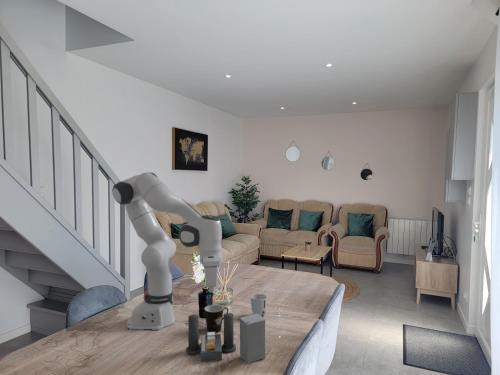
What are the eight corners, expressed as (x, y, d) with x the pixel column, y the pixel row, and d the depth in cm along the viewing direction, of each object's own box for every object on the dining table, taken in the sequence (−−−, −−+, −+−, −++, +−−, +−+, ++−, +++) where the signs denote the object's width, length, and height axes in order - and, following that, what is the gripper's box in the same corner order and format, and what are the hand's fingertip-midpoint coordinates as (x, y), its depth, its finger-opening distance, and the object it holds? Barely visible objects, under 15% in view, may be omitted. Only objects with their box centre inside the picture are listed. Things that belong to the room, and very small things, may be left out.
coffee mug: (206, 335, 148) (205, 313, 148) (203, 327, 157) (203, 305, 156) (231, 332, 151) (231, 310, 151) (227, 324, 160) (227, 303, 159)
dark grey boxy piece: (200, 361, 127) (200, 351, 127) (201, 343, 141) (201, 334, 141) (222, 360, 128) (222, 350, 128) (220, 342, 142) (220, 333, 142)
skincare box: (257, 350, 135) (257, 312, 135) (266, 359, 129) (266, 318, 128) (238, 356, 131) (238, 316, 131) (247, 365, 125) (247, 323, 124)
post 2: (221, 353, 133) (221, 318, 133) (220, 345, 139) (220, 312, 139) (236, 352, 134) (236, 317, 134) (235, 344, 140) (235, 311, 139)
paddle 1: (207, 338, 137) (207, 335, 137) (207, 336, 140) (207, 332, 139) (214, 338, 138) (214, 334, 137) (214, 335, 140) (214, 331, 140)
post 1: (185, 355, 131) (185, 320, 131) (186, 347, 137) (186, 314, 137) (201, 354, 132) (200, 319, 132) (201, 346, 138) (201, 313, 138)
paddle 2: (207, 349, 129) (206, 345, 129) (207, 346, 132) (206, 342, 132) (215, 347, 130) (214, 343, 129) (214, 344, 132) (213, 340, 132)
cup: (265, 320, 164) (265, 300, 163) (249, 319, 165) (249, 298, 165) (268, 313, 172) (268, 294, 171) (252, 312, 173) (252, 293, 173)
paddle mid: (207, 343, 133) (207, 339, 133) (207, 340, 136) (207, 336, 136) (215, 343, 134) (215, 339, 134) (214, 340, 136) (214, 336, 136)
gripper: (203, 251, 143) (203, 283, 144) (202, 263, 123) (202, 300, 123) (218, 250, 144) (218, 282, 145) (219, 262, 124) (220, 299, 124)
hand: (211, 291), depth 134 cm, fingers closed
